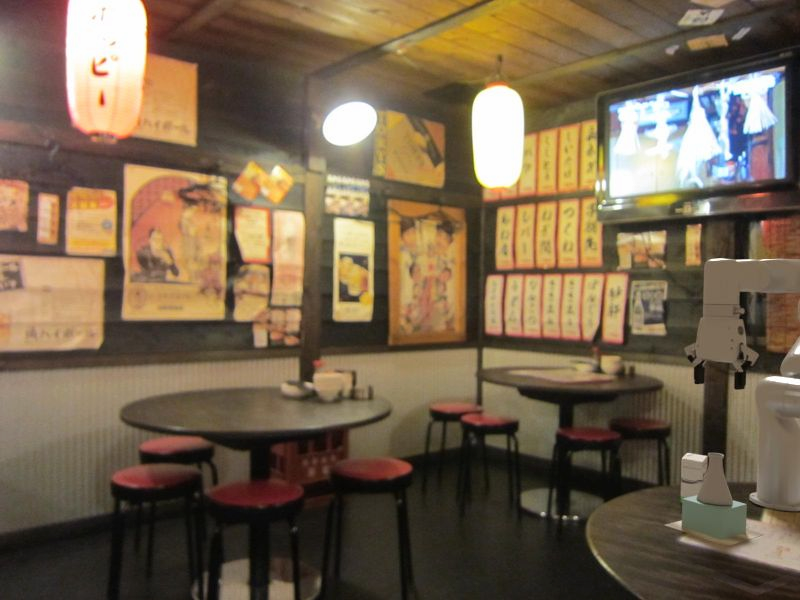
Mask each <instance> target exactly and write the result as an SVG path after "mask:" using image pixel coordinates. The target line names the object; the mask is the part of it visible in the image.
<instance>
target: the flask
mask: <svg viewBox="0 0 800 600" xmlns="http://www.w3.org/2000/svg"><path fill="white" fill-rule="evenodd" d="M707 458H708V465H707V474H706V476H705V479H704V481H703V484H702V486H701V489H700V491H699V493H698V496H697V499H698V500H700V501H702V502H704V503H710V504H716V505H732V504H733V498H732V494H731V491H730V489H729V485H728V482H727V479H726V476H725V474H724V473H725V472H724V466H723V459H724V458H725V455H724V454H723V453H719V452H708V453H707Z"/></svg>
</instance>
